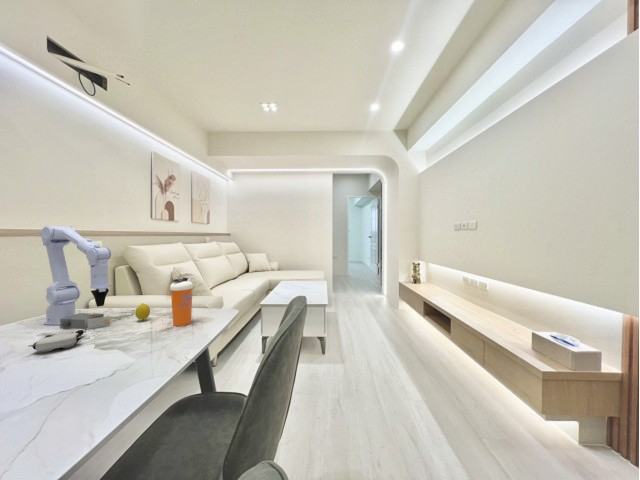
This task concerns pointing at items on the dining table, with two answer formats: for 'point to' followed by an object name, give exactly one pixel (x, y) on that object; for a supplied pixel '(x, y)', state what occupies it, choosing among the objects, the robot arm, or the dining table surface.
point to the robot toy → (58, 340)
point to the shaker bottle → (181, 301)
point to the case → (78, 320)
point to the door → (97, 322)
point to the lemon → (142, 311)
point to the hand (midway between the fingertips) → (100, 306)
